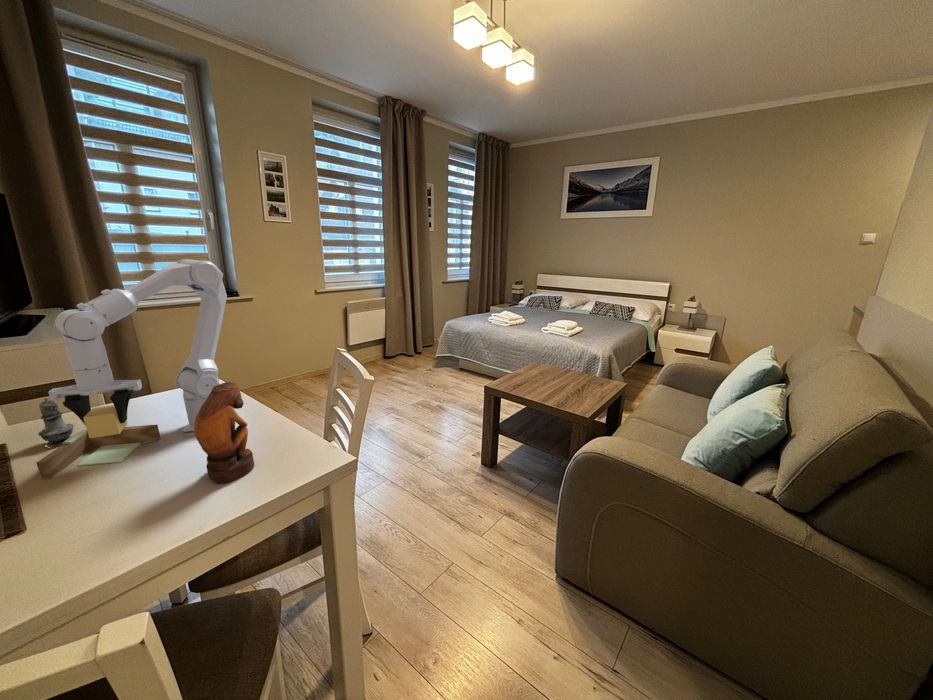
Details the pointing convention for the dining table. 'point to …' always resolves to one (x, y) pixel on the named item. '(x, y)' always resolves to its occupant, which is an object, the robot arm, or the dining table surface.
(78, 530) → the dining table surface
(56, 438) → the grey stone finial
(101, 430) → the ochre block
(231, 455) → the figurine
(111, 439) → the walnut walls
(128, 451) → the sage pad
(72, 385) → the robot arm
